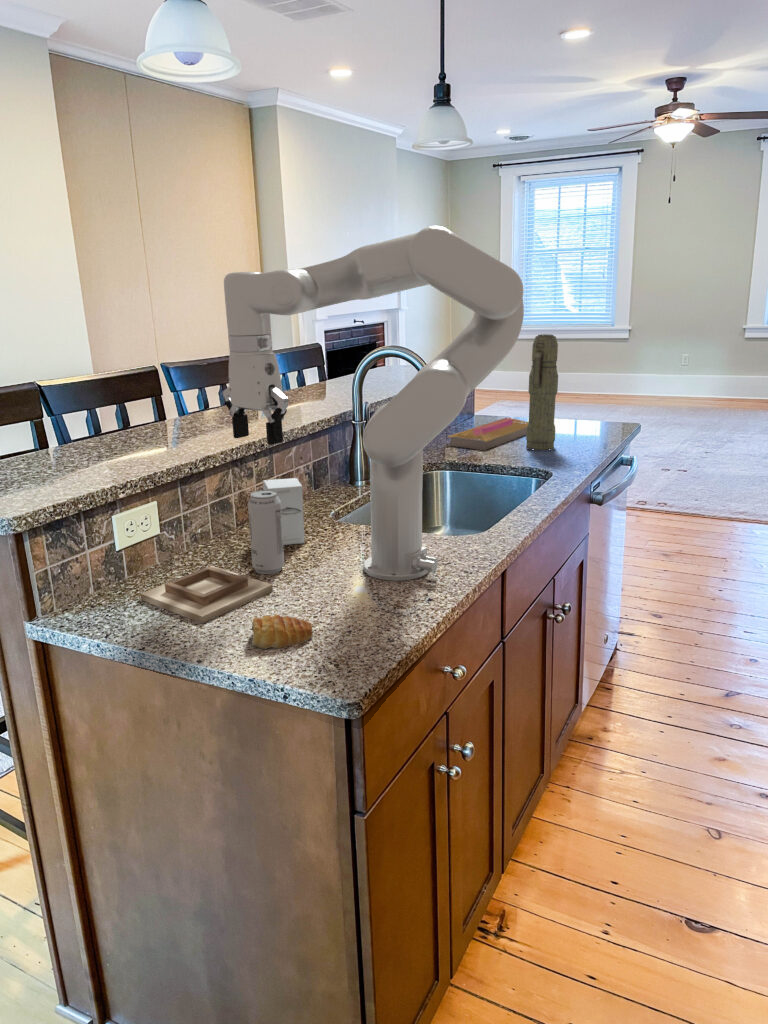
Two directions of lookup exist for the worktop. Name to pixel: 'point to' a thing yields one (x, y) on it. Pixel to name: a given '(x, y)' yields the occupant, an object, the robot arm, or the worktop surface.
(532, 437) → the olive stone tall figure
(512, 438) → the pink-striped tan slab
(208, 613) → the board
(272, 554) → the energy drink can
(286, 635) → the pastry
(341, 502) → the worktop surface
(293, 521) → the supplement box
